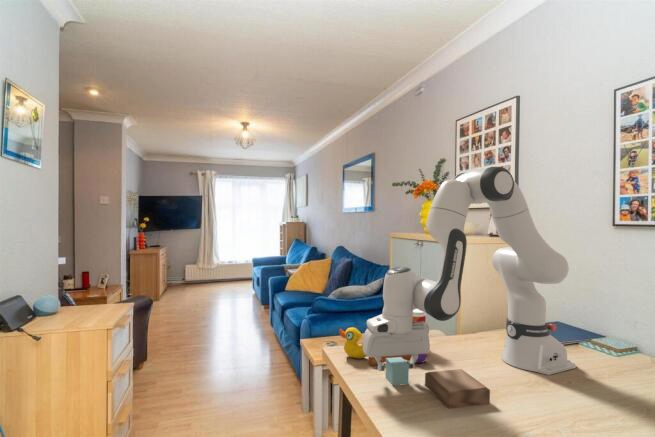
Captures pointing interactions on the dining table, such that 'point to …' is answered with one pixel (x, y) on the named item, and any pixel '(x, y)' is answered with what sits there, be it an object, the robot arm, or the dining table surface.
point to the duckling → (352, 343)
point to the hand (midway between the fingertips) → (395, 369)
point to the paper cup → (419, 315)
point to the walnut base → (457, 388)
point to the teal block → (397, 370)
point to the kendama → (407, 357)
